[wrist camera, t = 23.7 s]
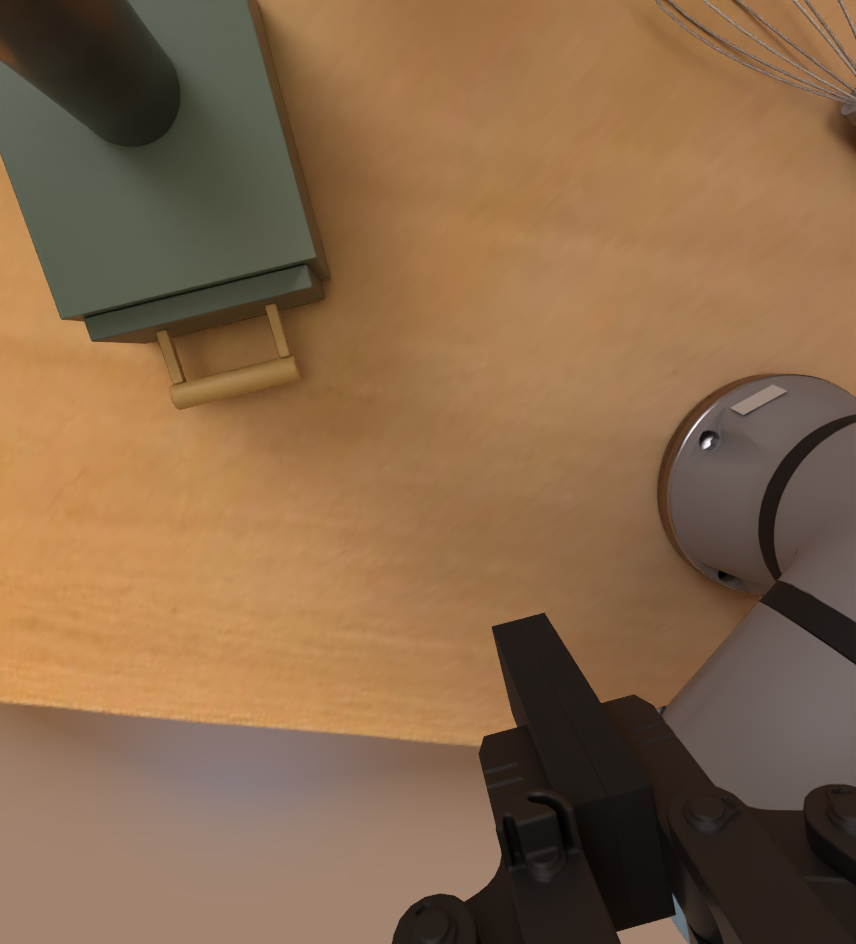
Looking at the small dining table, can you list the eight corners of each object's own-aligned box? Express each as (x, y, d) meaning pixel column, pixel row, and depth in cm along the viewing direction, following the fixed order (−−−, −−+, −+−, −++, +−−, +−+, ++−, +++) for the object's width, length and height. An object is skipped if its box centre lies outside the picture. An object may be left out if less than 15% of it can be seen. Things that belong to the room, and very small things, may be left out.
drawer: (344, 368, 37) (336, 371, 31) (167, 412, 37) (120, 425, 30) (256, 40, 33) (224, -39, 27) (57, 86, 33) (-25, 18, 26)
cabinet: (331, 278, 37) (316, 257, 29) (134, 327, 37) (60, 319, 28) (257, 1, 34) (216, -116, 25) (40, 51, 33) (-75, -50, 25)
